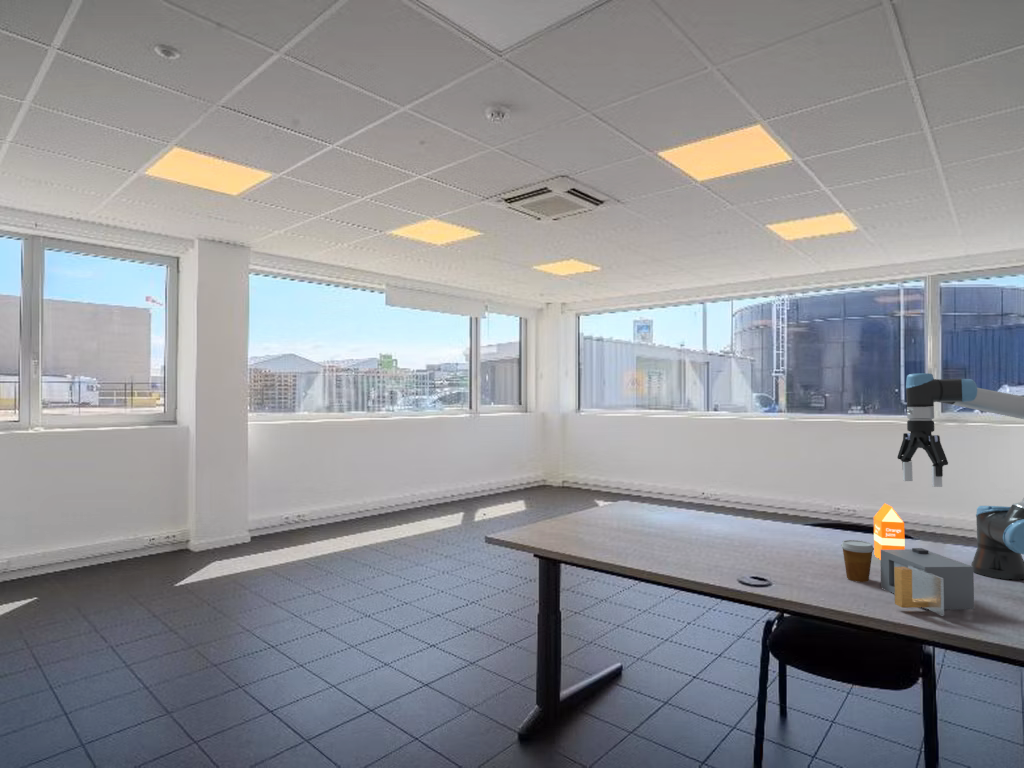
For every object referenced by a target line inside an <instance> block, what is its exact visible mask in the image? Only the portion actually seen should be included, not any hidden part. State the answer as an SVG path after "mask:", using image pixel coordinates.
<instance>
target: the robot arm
mask: <svg viewBox="0 0 1024 768" xmlns="http://www.w3.org/2000/svg"><path fill="white" fill-rule="evenodd" d="M905 391H906V418H907V419H908V420H907V421H906V429H907V431H908V432H906V433H903V435H902V437H903V438H902V442H901V445H900V448H899V451H898V455H897V459H898V460H900V461H901V462H902V463H901V464H902V474H903V475H902V477H903V479H902V480H903V482H913V460H912V458H913V457H914V455H915V454H916V452H917V450H918V449H919V448H920V449H922V450H924V451H925V453H926V454H927V456H928V457H929V459H930V461H931V462H932V465H931V483H932V484H931V485H932V487H933V488H942V487H943V475H944V473H943V471H944V470H943V469H944V468H943V467H944V466H948V465H949V461H948V459H947V456H946V454H945V451H944V449H943V446H942V443H941V437H940V435H939V434H937V435H934V434H932V433H933V432H935V421H934V419H935V405H934V404H935V403H936V402H937V403H941V404H946V405H952V406H957V407H961V408H966V409H970V410H971V409H972V410H977V411H982V412H986V413H991V414H996V415H1001V416H1007V417H1010V418H1011V417H1012V418H1015V419H1020V420H1024V396H1023V395H1018V394H1013V393H1006V392H1002V391H997V390H992V389H991V390H990V389H987V388H982V387H981V388H980V387H978V385H977V383H976V382H975V380H973V379H972V378H945V379H944V378H943V379H942V378H941V379H937V378H935V377H934V375H933V373H929V372H928V373H925V372H924V373H922V372H921V373H910V374H907V375H906V382H905ZM909 432H910V433H909ZM975 517H976V547H977V549H976V551H975V553H974V556H973V558H972V559H973V560H972V561H971V563H970V564H971V565H970V566H973V573H975V574H978V575H982V576H984V575H985V576H986V577H989V578H995V579H1000V578H1001V580H1009V579H1012V581H1015V580H1016V581H1018V580H1020V579H1024V558H1023V556H1022V555H1024V497H1023V499H1022V500H1021V501H1020V502H1015V503H1012V504H1011V506H1002V505H979V506H978V507H977V508H976V514H975ZM985 576H984V577H985ZM1020 581H1021V580H1020Z"/></svg>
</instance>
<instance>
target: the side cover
mask: <svg viewBox="0 0 1024 768" xmlns="http://www.w3.org/2000/svg"><path fill="white" fill-rule="evenodd" d="M894 575H895V594H894V604H895V605H896V606H898V607H899V608H902V609H903V608H907V609H908V608H909V609H910V608H916V609H917V608H918V609H919V608H921V607H925V608H927V609H929V611H931V612H933V613H935V614H937V615H939V616H941V617H942V616H945V610H944V580H943V578H941V577H939V576H936V575H934V574H931V573H929V572H926V571H924V570H921V569H919V568H916V567H914V566H911V565H908V568H907V567H894Z"/></svg>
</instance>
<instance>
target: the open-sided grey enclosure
mask: <svg viewBox="0 0 1024 768" xmlns="http://www.w3.org/2000/svg"><path fill="white" fill-rule="evenodd" d="M880 554H881V560H880V588H881V589H882V588H883V589H882V590H884V589H885V590H884V591H886V592H889V593H891V592H892V593H891V594H893V593H894V594H893V595H895V575H894V567H907V568H908V565H911V566H914V567H916V568H919V569H921V570H924V571H926V572H929V573H931V574H934V575H936V576H939V577H941V578H943V580H944V611H945V610H949V609H950V610H951V611H952V610H975V588H974V587H975V584H974V582H975V581H974V580H975V579H974V578H975V576H974V573H975V572H973V566H971V565H969V564H967V563H963V562H960V561H958V560H955V559H952V558H950V557H947V556H944V555H941V554H938V553H935V552H933V551H929V550H928V549H925V548H922V547H912V548H910V549H909V548H905V549H895V550H880ZM923 608H924V610H925V609H927V608H925V607H922V609H923ZM950 610H949V611H950Z"/></svg>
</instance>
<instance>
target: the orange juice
mask: <svg viewBox="0 0 1024 768" xmlns="http://www.w3.org/2000/svg"><path fill="white" fill-rule="evenodd" d="M872 518H873V548H874V550H873V554H874V555H875V556H874V555H873V556H874V557H875V558H877V559H878V558H879V559H878V560H880V561H881V554H880V550H895V549H906V545H905V544H906V539H905V522H904V521H903V519H902V518H901V517H900V516H899V514H898V513H897V512H896V510H895V509H894V508H893V506H891V505H889V504H887V503H884V504H883V505H882V506H881V507H880V509H879V510H878V511H877V512H876V513H875V515H874V516H873V517H872Z"/></svg>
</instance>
